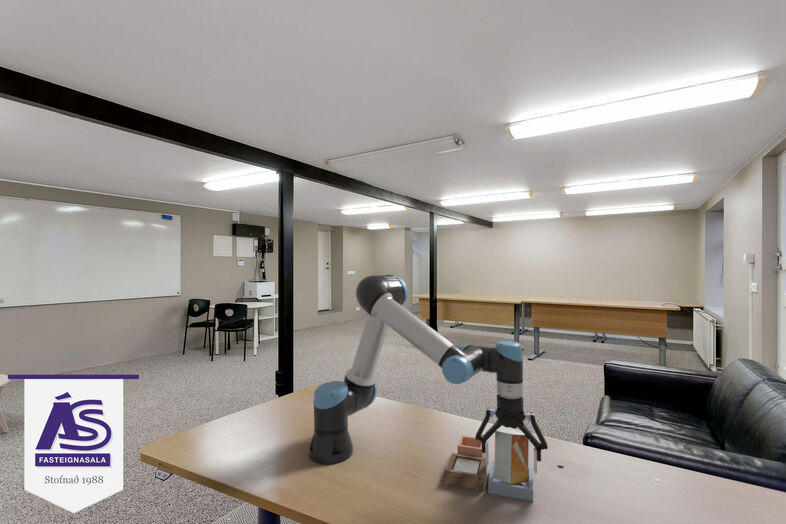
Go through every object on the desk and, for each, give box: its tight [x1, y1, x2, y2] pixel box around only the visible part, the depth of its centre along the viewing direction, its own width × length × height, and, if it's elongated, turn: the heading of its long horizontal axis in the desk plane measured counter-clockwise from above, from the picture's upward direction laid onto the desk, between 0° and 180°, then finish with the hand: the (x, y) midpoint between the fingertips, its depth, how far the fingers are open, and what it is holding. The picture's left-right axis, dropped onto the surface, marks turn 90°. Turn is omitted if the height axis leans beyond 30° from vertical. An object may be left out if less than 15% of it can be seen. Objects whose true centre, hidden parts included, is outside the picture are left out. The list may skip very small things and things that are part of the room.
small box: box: [493, 430, 530, 484], centre depth 110 cm, size 8×6×13 cm
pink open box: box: [456, 434, 486, 458], centre depth 124 cm, size 8×8×6 cm
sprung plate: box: [453, 458, 480, 474], centre depth 113 cm, size 7×8×1 cm
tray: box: [487, 461, 534, 502], centre depth 109 cm, size 12×12×3 cm
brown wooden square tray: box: [444, 452, 488, 492], centre depth 113 cm, size 11×11×4 cm
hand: (510, 467), depth 109 cm, fingers open, 13 cm apart
